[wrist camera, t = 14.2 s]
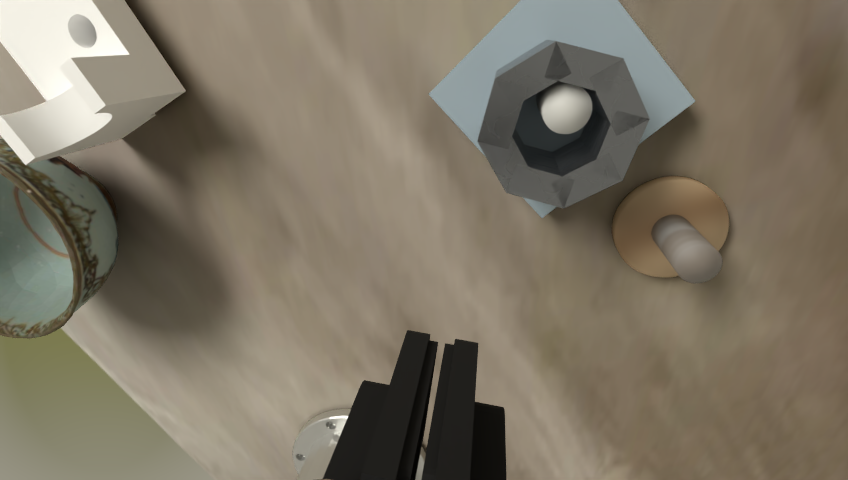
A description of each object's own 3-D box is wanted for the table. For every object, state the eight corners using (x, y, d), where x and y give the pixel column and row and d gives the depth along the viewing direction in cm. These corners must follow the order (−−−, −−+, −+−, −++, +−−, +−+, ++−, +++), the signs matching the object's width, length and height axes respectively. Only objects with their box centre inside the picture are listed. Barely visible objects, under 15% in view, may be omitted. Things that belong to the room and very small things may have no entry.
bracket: (194, 89, 30) (105, 105, 24) (125, 137, 33) (25, 165, 26) (56, -118, 27) (-98, -170, 20) (-12, -47, 29) (-171, -72, 22)
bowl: (97, 90, 31) (-25, 106, 24) (194, 260, 36) (117, 317, 29) (-36, 149, 35) (-176, 178, 28) (68, 296, 39) (-29, 355, 32)
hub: (682, 96, 26) (734, 114, 20) (539, 207, 30) (548, 249, 24) (569, -49, 24) (591, -76, 18) (433, 90, 28) (414, 105, 22)
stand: (743, 230, 28) (794, 271, 23) (650, 287, 31) (678, 336, 26) (682, 154, 27) (723, 181, 22) (590, 220, 29) (608, 258, 24)
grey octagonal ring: (638, 136, 25) (667, 159, 21) (521, 195, 27) (525, 226, 23) (583, 16, 23) (603, 12, 19) (463, 90, 26) (455, 102, 21)
